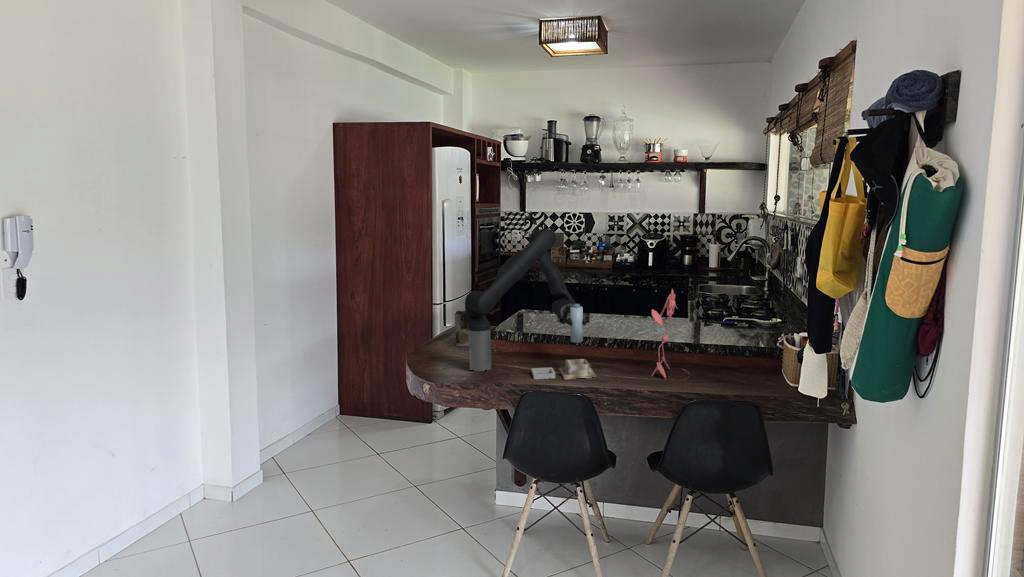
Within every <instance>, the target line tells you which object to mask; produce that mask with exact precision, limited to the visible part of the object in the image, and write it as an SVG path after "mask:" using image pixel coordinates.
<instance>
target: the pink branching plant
mask: <svg viewBox="0 0 1024 577" xmlns="http://www.w3.org/2000/svg"><path fill="white" fill-rule="evenodd" d="M675 308H676V309H677V310H678V309H679V308H678V306H677V305H676V293H675V291H674V289H673V288H672V289H671V291H670V294H668V297H667V298H666V301H665V302H664V306H663V309H662V310H661V312H660V313H658V311H657V310H655V309H653V308H652V309H651V310H650V311H651V317H652V322H653V324H656V323H657V324H658V325H659V326H660V327H662V326H663V324H665V335H663V336H661V344H660V345H659V347H658V361H657V362H656V367H655V369H654V370H653V372H652V374H651V377H653V376H654V375H655V373H656V372H657V371H659V373H660V375H661V376H663V377H664V379H667V376H666V371H665V369H664V367H663V365H662V363H663V362H664V365H666V367H667V369H668V370H670V366H669V364H668V363H667V361H666V358H665V353H664V343H667V342H668V341H669V337H668V336H667V333H668V327H669V326H668V323H667V322H666V321H665V320H664V319H663V318H662V316H663V314H664V312H665V310H666V309H667V310H666V316H667V317H668V320H669V321H671V320H672V316H673V315H674V312H675ZM660 348H662V356H661V361H660ZM682 370H684V371H685V372H687V373H690V372H689V371H687V369H684V368H682ZM688 378H689V376H687V377H685V378H684V380H686V379H688ZM646 380H648V381H650V379H649V378H646Z"/></svg>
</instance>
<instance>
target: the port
mask: <svg viewBox="0 0 1024 577" xmlns="http://www.w3.org/2000/svg"><path fill="white" fill-rule="evenodd" d="M558 371H559V373H560V372H561V373H560V375H561V374H562V375H561V377H562V376H563V377H562V379H563V380H577V379H576V378H586V379H593V378H592V377H596V378H597V375H596V373H595V372H594V370H593V369H592V367H591V364H590V363H589V362H588V360H587V359H586V358H580V359H578V358H575V359H565V360H564V367H559V368H558Z"/></svg>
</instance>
